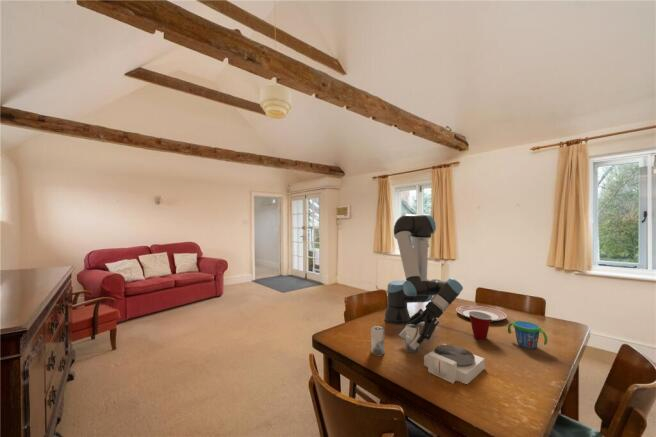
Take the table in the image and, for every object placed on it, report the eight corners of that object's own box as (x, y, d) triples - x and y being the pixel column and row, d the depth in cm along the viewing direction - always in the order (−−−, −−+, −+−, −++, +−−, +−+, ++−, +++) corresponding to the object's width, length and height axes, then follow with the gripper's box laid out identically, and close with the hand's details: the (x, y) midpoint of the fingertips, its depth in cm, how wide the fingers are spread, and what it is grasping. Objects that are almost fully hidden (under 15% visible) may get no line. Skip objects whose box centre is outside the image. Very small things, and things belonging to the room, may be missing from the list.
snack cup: (503, 341, 131) (503, 321, 131) (515, 337, 135) (515, 317, 135) (539, 355, 117) (539, 333, 117) (552, 350, 121) (551, 328, 121)
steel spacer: (368, 352, 121) (368, 328, 121) (377, 348, 125) (376, 324, 125) (378, 357, 116) (378, 332, 116) (387, 352, 120) (386, 328, 120)
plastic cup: (496, 343, 129) (496, 318, 129) (472, 341, 131) (472, 317, 131) (487, 333, 140) (487, 311, 140) (465, 332, 142) (465, 310, 142)
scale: (419, 368, 107) (419, 351, 107) (444, 352, 120) (443, 337, 120) (462, 388, 94) (462, 369, 94) (484, 368, 107) (484, 351, 107)
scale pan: (427, 354, 109) (427, 352, 109) (445, 343, 119) (445, 341, 119) (464, 370, 98) (464, 367, 98) (480, 357, 107) (480, 354, 107)
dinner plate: (446, 312, 172) (446, 307, 172) (475, 307, 183) (475, 302, 183) (486, 328, 147) (486, 322, 147) (517, 320, 158) (516, 315, 158)
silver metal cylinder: (403, 349, 123) (402, 326, 123) (410, 345, 126) (410, 322, 127) (414, 354, 118) (414, 330, 118) (421, 350, 122) (421, 326, 122)
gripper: (457, 320, 114) (424, 360, 111) (428, 304, 136) (401, 336, 134) (446, 309, 113) (412, 348, 110) (419, 294, 135) (391, 326, 133)
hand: (406, 342), depth 122 cm, fingers open, 10 cm apart
